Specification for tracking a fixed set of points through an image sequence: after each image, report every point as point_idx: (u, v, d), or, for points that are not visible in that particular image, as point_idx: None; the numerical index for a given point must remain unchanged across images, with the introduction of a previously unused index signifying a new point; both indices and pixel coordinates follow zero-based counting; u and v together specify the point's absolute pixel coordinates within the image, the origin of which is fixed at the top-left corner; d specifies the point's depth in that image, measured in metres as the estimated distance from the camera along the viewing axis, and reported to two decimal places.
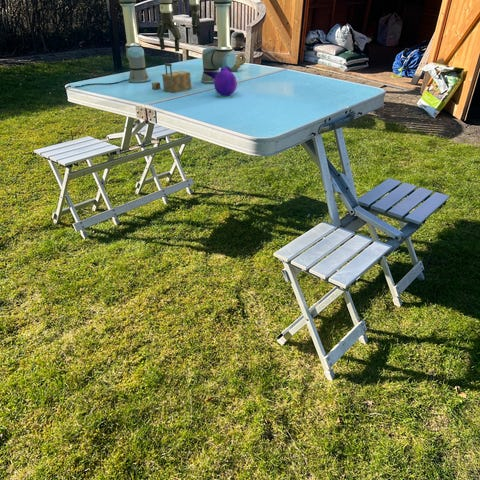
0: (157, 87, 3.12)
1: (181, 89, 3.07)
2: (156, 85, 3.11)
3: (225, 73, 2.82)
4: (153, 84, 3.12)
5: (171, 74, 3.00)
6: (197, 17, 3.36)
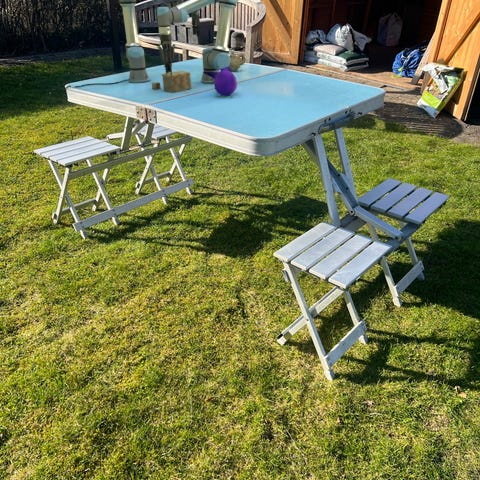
0: (157, 87, 3.12)
1: (181, 89, 3.07)
2: (156, 85, 3.11)
3: (225, 73, 2.82)
4: (153, 84, 3.12)
5: (171, 74, 3.00)
6: (197, 17, 3.36)
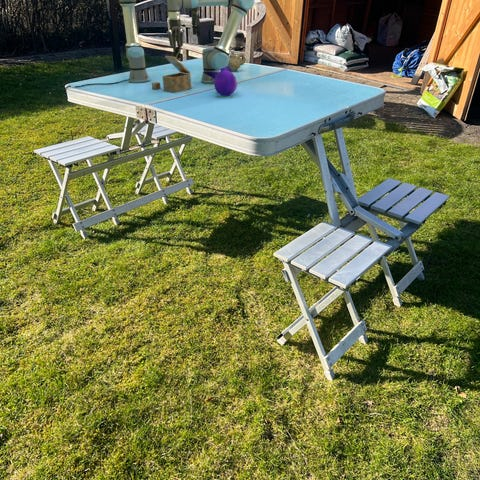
0: (157, 87, 3.12)
1: (181, 89, 3.07)
2: (156, 85, 3.11)
3: (225, 73, 2.82)
4: (153, 84, 3.12)
5: None
6: (197, 17, 3.36)
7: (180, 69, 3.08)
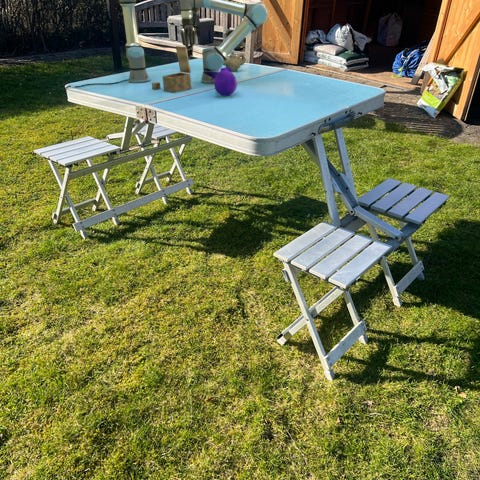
0: (157, 87, 3.12)
1: (181, 89, 3.07)
2: (156, 85, 3.11)
3: (225, 73, 2.82)
4: (153, 84, 3.12)
5: None
6: (197, 17, 3.36)
7: (182, 65, 3.08)
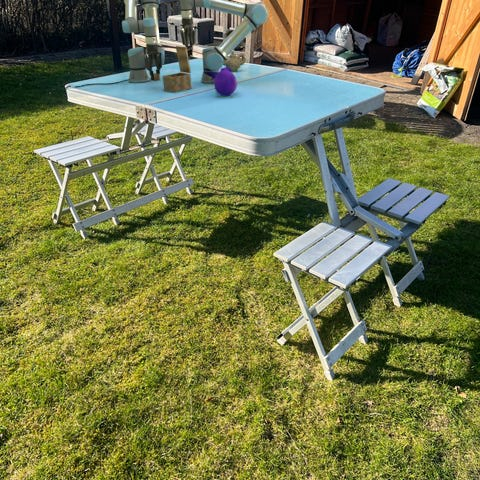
0: (156, 78, 3.10)
1: (181, 89, 3.07)
2: (155, 76, 3.09)
3: (225, 73, 2.82)
4: None
5: None
6: (146, 60, 3.02)
7: (182, 65, 3.08)
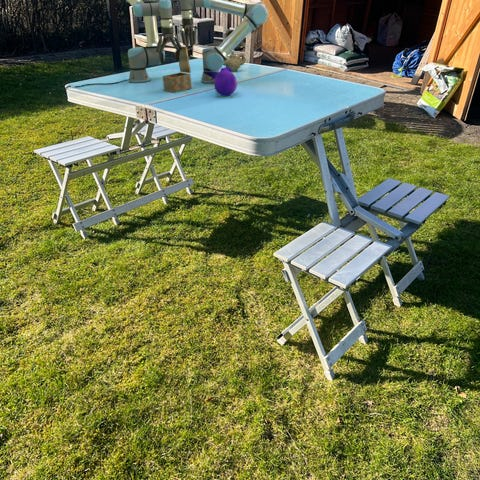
0: None
1: (181, 89, 3.07)
2: None
3: (225, 73, 2.82)
4: None
5: None
6: (159, 41, 2.88)
7: (183, 65, 3.08)
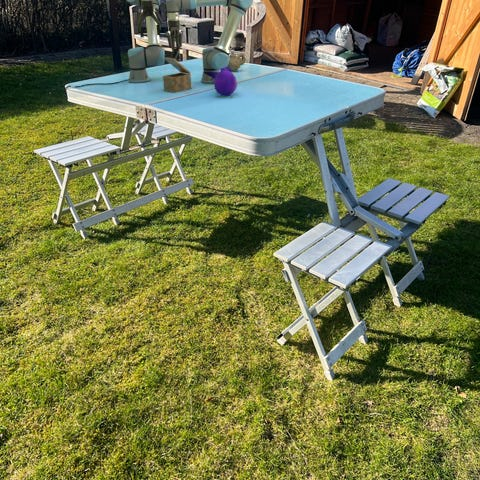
0: None
1: (181, 89, 3.07)
2: None
3: (225, 73, 2.82)
4: None
5: None
6: (138, 15, 2.86)
7: (180, 69, 3.08)
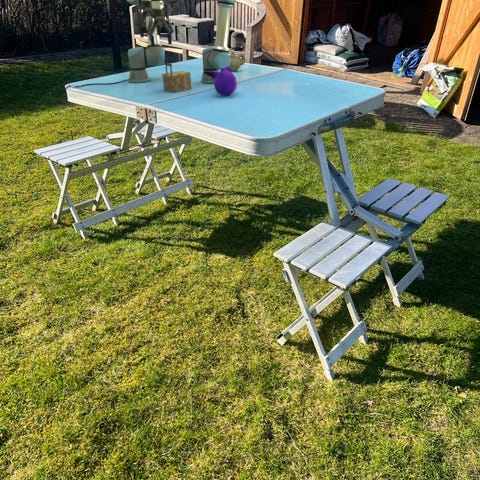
0: None
1: (181, 89, 3.07)
2: None
3: (225, 73, 2.82)
4: None
5: (171, 74, 3.00)
6: (138, 15, 2.86)
7: None
